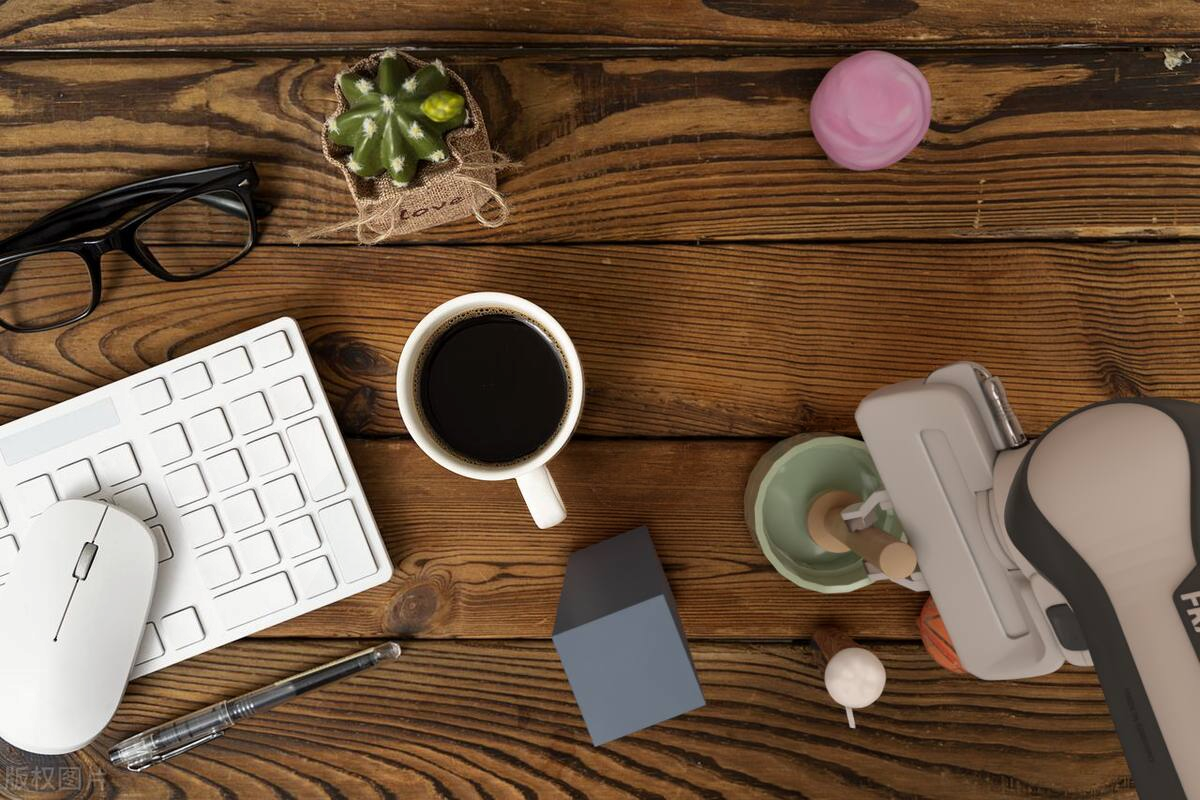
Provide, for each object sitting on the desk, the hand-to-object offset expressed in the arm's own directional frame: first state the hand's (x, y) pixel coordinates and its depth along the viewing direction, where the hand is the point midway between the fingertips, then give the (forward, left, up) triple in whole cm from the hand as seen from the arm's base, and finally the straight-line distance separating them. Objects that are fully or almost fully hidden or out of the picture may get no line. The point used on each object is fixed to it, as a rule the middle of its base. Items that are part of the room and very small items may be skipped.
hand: (858, 543), depth 61 cm
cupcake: (+29, -14, -11) cm, 34 cm away
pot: (-12, -8, -11) cm, 18 cm away
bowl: (+1, 0, -11) cm, 11 cm away
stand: (+1, +17, -11) cm, 21 cm away
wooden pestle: (0, -1, -9) cm, 9 cm away
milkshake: (-11, +3, -11) cm, 16 cm away
